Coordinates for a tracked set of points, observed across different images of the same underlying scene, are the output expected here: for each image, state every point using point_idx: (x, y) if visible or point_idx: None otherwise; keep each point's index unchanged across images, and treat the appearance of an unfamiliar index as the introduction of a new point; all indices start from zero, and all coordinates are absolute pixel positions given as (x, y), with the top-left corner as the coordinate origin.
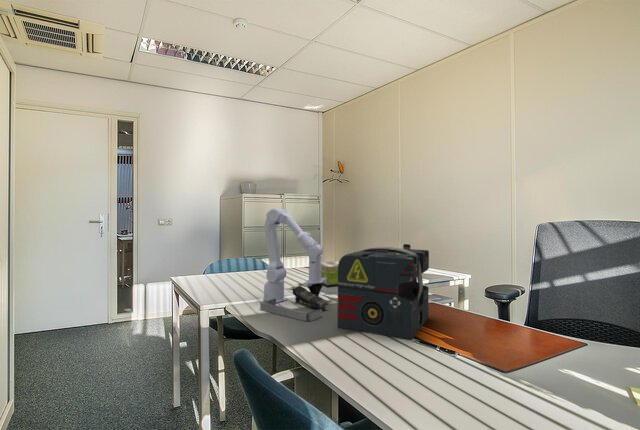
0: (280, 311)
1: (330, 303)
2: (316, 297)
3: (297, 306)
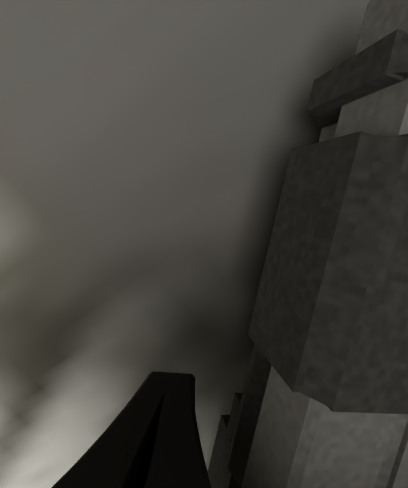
0: None
1: (11, 233)
2: None
3: None
